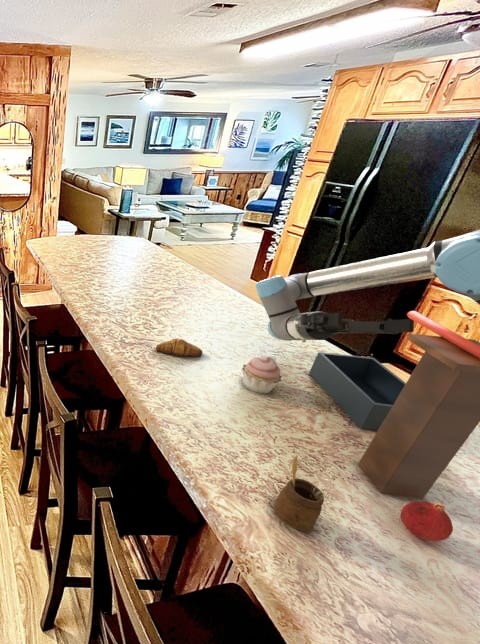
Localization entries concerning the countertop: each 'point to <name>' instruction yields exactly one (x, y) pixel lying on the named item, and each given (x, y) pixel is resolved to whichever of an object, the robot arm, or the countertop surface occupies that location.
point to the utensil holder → (299, 502)
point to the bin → (358, 386)
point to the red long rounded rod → (445, 333)
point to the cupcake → (261, 374)
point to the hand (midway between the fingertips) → (375, 322)
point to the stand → (426, 420)
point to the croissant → (179, 348)
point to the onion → (427, 520)
